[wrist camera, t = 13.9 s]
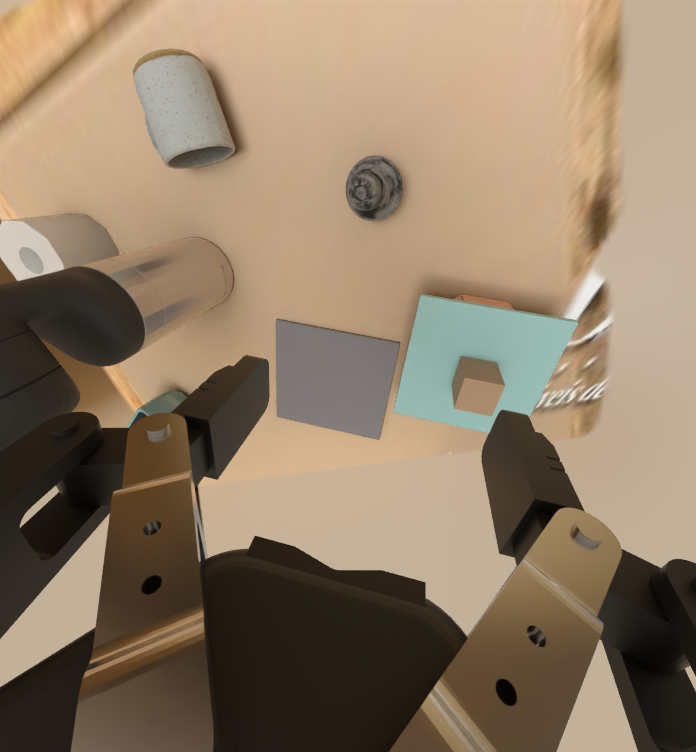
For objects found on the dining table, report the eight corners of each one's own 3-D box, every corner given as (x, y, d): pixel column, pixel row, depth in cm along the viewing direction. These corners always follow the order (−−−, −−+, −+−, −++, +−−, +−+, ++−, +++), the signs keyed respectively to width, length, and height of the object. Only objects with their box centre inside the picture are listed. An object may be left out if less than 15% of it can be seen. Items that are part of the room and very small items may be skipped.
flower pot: (196, 432, 64) (165, 466, 57) (157, 403, 63) (120, 434, 55) (216, 409, 60) (186, 442, 53) (175, 377, 58) (138, 407, 51)
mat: (278, 414, 58) (276, 416, 57) (277, 318, 48) (276, 320, 48) (379, 438, 55) (379, 439, 55) (400, 342, 46) (399, 343, 45)
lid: (393, 408, 44) (389, 437, 40) (420, 293, 36) (419, 311, 31) (516, 435, 43) (527, 468, 38) (575, 320, 34) (599, 343, 29)
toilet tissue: (134, 307, 52) (87, 328, 45) (56, 251, 50) (-7, 264, 43) (150, 262, 48) (100, 277, 40) (65, 198, 45) (-4, 202, 38)
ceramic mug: (216, 58, 34) (165, 31, 28) (248, 149, 38) (209, 144, 31) (141, 99, 38) (80, 84, 31) (177, 180, 41) (129, 180, 35)
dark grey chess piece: (398, 149, 35) (386, 138, 25) (408, 209, 37) (401, 221, 27) (346, 167, 37) (315, 163, 27) (359, 223, 39) (335, 239, 29)
